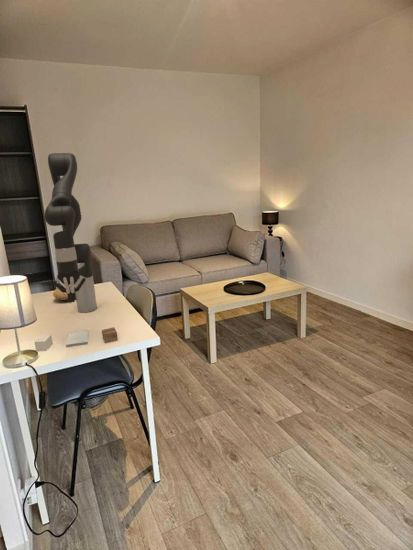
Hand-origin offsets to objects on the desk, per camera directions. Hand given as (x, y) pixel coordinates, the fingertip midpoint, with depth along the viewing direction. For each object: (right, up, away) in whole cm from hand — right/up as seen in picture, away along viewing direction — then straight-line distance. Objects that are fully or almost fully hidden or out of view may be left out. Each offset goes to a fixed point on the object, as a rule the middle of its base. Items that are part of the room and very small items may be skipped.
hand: (72, 301), depth 144 cm
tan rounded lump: (-20, -3, +58) cm, 61 cm away
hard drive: (+1, -16, +4) cm, 17 cm away
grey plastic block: (-10, -18, -2) cm, 21 cm away
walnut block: (+14, -16, +3) cm, 21 cm away
